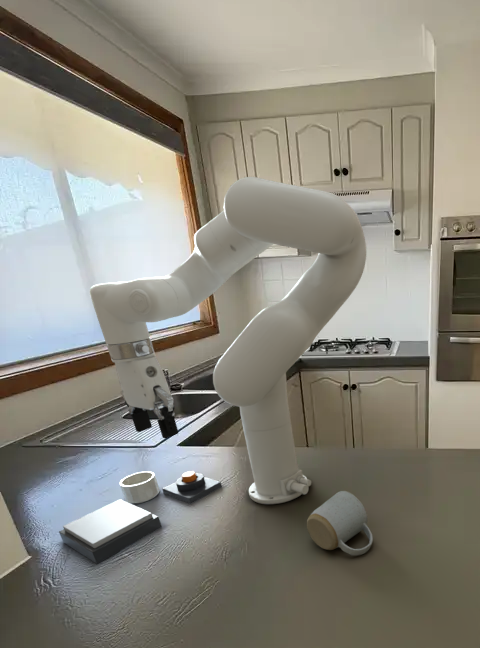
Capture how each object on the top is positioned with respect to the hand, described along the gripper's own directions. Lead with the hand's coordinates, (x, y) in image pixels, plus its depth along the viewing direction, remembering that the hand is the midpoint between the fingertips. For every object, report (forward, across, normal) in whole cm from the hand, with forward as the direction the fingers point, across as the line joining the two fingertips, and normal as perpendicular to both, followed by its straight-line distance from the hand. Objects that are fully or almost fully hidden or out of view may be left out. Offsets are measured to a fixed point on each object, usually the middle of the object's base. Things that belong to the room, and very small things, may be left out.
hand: (157, 432), depth 88 cm
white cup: (+15, +6, +4) cm, 16 cm away
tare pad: (+15, -2, -3) cm, 15 cm away
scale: (+15, -3, +15) cm, 21 cm away
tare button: (+12, -2, -3) cm, 13 cm away
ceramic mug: (+16, -44, -4) cm, 47 cm away
